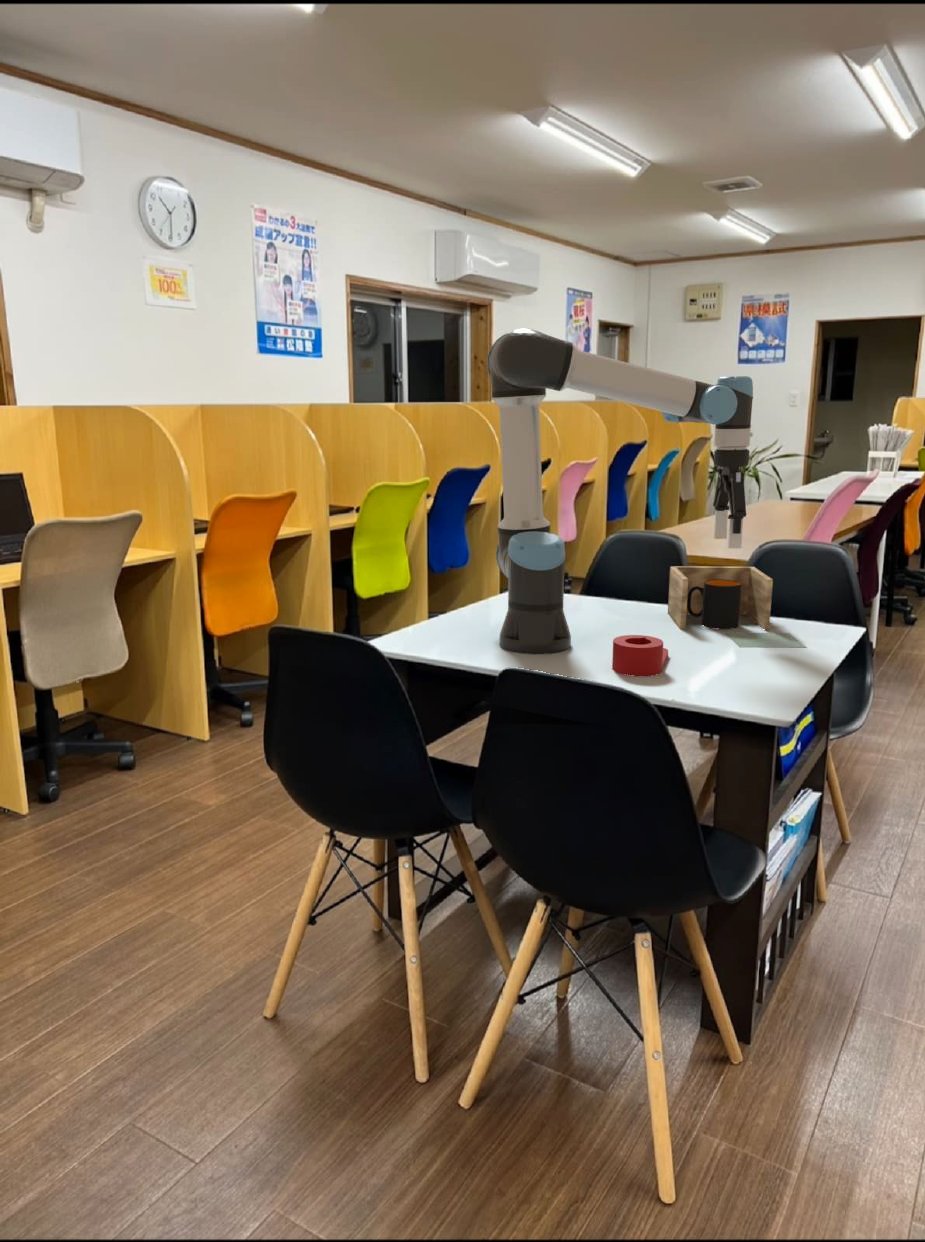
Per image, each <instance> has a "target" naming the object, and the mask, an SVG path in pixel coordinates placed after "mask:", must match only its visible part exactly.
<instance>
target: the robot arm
mask: <svg viewBox="0 0 925 1242" xmlns="http://www.w3.org/2000/svg"><path fill="white" fill-rule="evenodd" d="M486 367H487V368H486V369H487V370H488V374H489V377H490V385H491V386H490V388H491V389H490V390H491V400H492V401H493V402H494V403H495V404H496V405H497V406H498V408H499V428H500V431H499V432H500V434H499V435H500V451H501V475H502V476H501V477H502V498H503V501H502V502H503V519H501V521H500V522H499V523H498V524H497V538H498V542H497V547H496V551H495V552H496V554H495V557H496V562H497V566H498V569H499V570H500V571H501V572H502V574H503V575H504V576H505V577H506V578H507V581H508V585H507V586H508V587H507V589H508V591H507V592H508V595H507V599H508V600H507V601H508V602H507V612H506V615H505V617H504V621H503V622H502V623H503V624H502V627H501V630H500V632H499V646H500V647H501V648H502V649H504V650H506V651H510V652H514V653H519V654H526V653H529V654H528V655H546V654H547V653H548V654H556V653H561V652H564V651H566V650H568V649H570V648H571V647H572V646H571V645H572V643H571V642H572V635H571V632H570V631H571V630H570V628H569V625H568V621H567V618H566V613H565V611H564V595H565V591H564V590H565V588H564V587H565V563H566V562H565V560H566V551H565V548H566V547H565V542H564V540H563V539H562V538H561V537H560V536H559V535H557V534H555V533H551V522H550V521H549V520H548V519H547V518H546V517H545V516H544V510H543V508H544V507H543V481H542V480H543V479H542V478H543V477H542V453H541V451H542V450H541V449H542V448H541V422H540V421H541V419H540V417H541V416H540V404H541V403H542V402H543V401H544V400H545V398H546V397H547V390H548V389H549V390H553V391H557V392H562V391H564V390H565V389H570V390H574V391H578V392H582V393H586V394H590V395H594V396H598V397H602V398H607V399H609V400H614V401H618V402H623V403H626V404H631V405H635V406H637V407H638V406H639V407H641V408H645V409H646V408H647V409H650V410H654V411H658V412H661V414H662V418H663V419H664V421H665V422H667V423H676V424H679V423H694V424H695V423H699V424H700V423H701V424H703V423H704V424H710V425H714V442H713V443H714V444H713V445H714V447H715V448H716V449H715V450H714V451H713V466H715V467H718V469H717V478H716V479H717V480H716V486H715V491H714V497H713V501H712V506H713V507H714V510H715V512H714V513H715V514H714V530H713V532H714V533H713V538H714V540H726V539H727V537H728V539H727V540H728V541H727V542H728V543H727V544H728V545H727V548H728V549H742V539H743V526H744V525H743V523H744V522H743V521H744V518H745V517H746V516H747V508H746V507H747V506H746V491H745V472H744V471H743V472H742V471H741V472H740V468H741V467H742V468H744V467H745V468H746V467H748V466H749V464H750V450H749V449H748V448H749V447H750V445H751V444H750V443H751V438H753V435H754V434H753V432H752V431H751V427H752V425H751V424H752V423H751V422H752V412H753V409H752V408H753V401H754V386H753V385H754V381H753V379H752V377H750V376H748V375H746V376H745V375H742V376H741V375H740V376H739V375H738V376H734V375H733V376H720V377H719V378H718V379H717V382H716V384H710V383H706V382H703V381H699V380H698V381H697V380H694V379H691V378H688V377H683V376H680V375H676V374H673V373H669V372H664V371H660V370H657V369H652V368H650V367H649V368H648V367H644V366H641V365H638V364H633V363H629V362H626V361H622V360H619V359H614V358H611V357H607V356H603V355H599V354H595V353H592V352H587V351H585V350H580V349H577V347H576V346H575V344H574V342H570V341H567V340H564V339H560V338H558V337H554V336H551V335H548V334H546V333H543V332H542V331H541V332H540V331H538V330H535V329H532V328H518V329H514V330H513V331H510V332H507V333H505V334H502V335H500V337H498V338H497V339H496V340H495V342H494V343H493V344H492V346H491V348H490V349H489V351H488V354H487V361H486ZM546 389H547V390H546ZM728 504H729V505H728ZM729 512H730V514H729ZM728 523H729V525H728ZM727 531H728V532H727ZM727 533H728V536H727ZM545 653H546V654H545ZM548 654H547V655H548Z"/></svg>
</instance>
